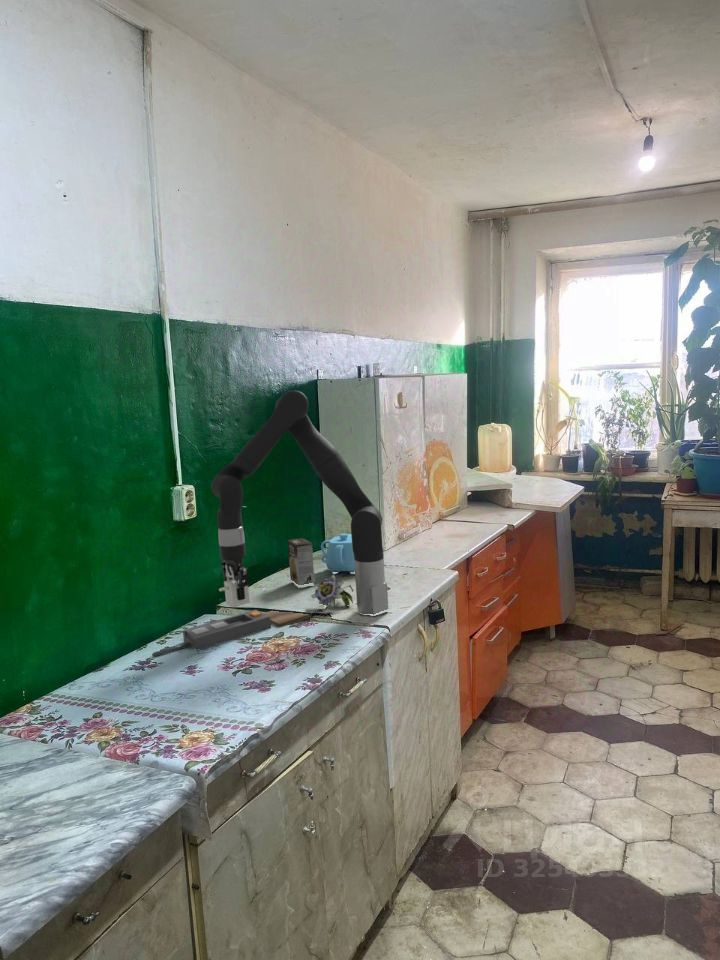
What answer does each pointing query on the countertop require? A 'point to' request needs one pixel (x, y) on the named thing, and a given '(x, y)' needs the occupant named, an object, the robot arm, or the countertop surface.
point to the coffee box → (301, 561)
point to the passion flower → (332, 592)
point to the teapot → (339, 553)
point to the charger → (234, 594)
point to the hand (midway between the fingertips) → (237, 597)
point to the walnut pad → (285, 617)
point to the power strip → (222, 630)
